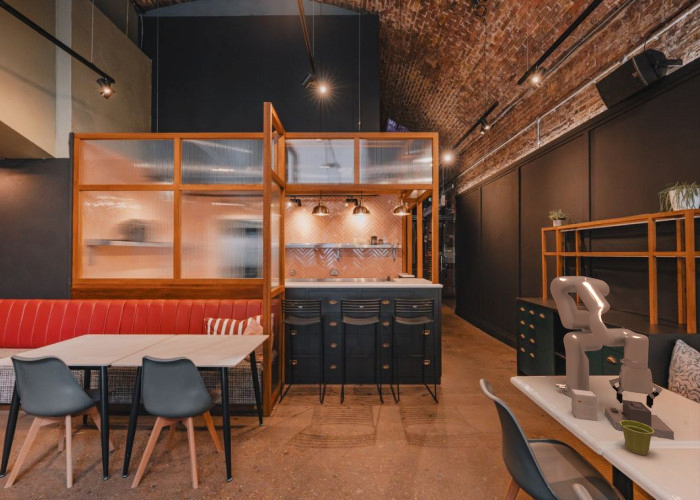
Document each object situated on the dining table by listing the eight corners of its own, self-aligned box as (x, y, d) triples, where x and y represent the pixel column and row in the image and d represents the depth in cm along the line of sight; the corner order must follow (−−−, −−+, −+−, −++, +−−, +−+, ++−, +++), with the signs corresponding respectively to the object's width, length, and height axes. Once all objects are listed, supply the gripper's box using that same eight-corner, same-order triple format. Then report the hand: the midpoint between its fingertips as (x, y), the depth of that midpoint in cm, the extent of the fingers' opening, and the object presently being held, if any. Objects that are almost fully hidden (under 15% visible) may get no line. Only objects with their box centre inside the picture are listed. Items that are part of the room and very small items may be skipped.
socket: (615, 429, 132) (615, 420, 132) (604, 414, 145) (604, 406, 145) (673, 439, 126) (673, 430, 126) (656, 422, 138) (656, 413, 138)
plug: (631, 428, 132) (631, 407, 133) (622, 418, 141) (622, 398, 141) (651, 432, 130) (651, 410, 130) (641, 421, 138) (641, 400, 139)
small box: (592, 415, 145) (592, 391, 145) (597, 421, 139) (597, 396, 139) (571, 412, 147) (571, 388, 147) (575, 418, 142) (575, 393, 142)
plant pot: (613, 443, 123) (613, 420, 123) (636, 442, 124) (636, 419, 124) (637, 459, 114) (637, 434, 114) (661, 457, 115) (661, 432, 115)
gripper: (613, 363, 136) (611, 404, 136) (667, 370, 129) (665, 413, 130) (607, 357, 143) (605, 396, 143) (658, 363, 136) (656, 404, 137)
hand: (634, 404), depth 136 cm, fingers open, 9 cm apart
